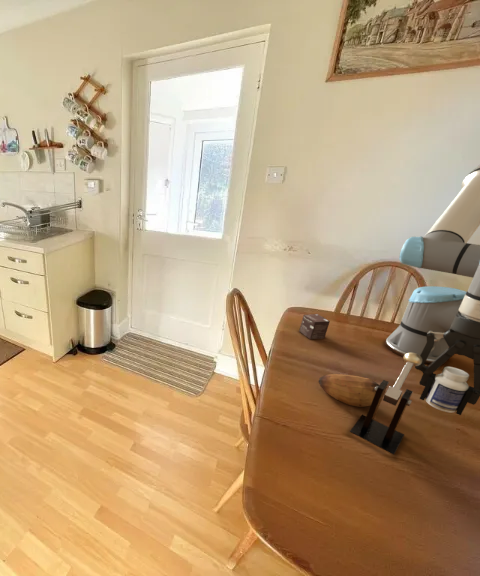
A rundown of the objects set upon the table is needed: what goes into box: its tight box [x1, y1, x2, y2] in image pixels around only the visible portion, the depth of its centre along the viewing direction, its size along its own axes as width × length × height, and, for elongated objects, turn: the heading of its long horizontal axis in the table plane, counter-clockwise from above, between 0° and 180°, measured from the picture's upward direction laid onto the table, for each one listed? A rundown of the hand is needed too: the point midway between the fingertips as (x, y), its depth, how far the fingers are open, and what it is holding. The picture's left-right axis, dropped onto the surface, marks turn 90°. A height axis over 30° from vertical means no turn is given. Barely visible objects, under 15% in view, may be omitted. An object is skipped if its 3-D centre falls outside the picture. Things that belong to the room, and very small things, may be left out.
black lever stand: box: [349, 379, 414, 455], centre depth 71 cm, size 9×8×14 cm
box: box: [298, 313, 330, 340], centre depth 117 cm, size 6×6×7 cm
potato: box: [318, 373, 380, 408], centre depth 83 cm, size 8×14×8 cm
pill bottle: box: [424, 366, 470, 414], centre depth 73 cm, size 5×5×10 cm
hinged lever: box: [382, 353, 422, 406], centre depth 71 cm, size 15×3×3 cm, turn 126°
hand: (440, 404), depth 75 cm, fingers closed on pill bottle, 5 cm apart
